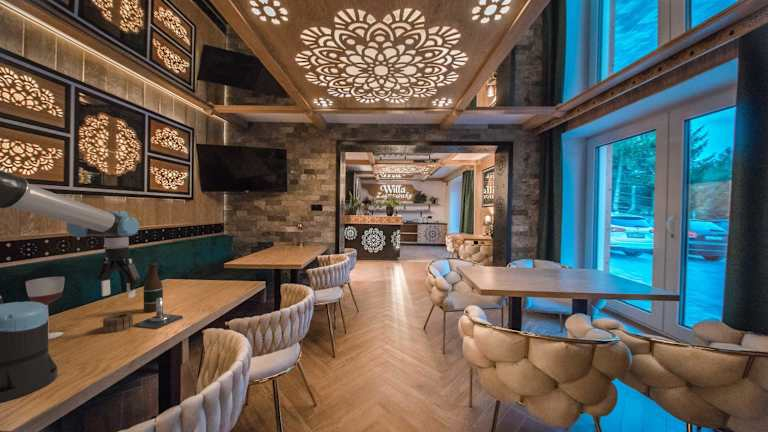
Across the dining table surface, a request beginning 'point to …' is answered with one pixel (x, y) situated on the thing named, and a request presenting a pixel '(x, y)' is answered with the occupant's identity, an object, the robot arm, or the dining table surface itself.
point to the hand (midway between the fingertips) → (118, 296)
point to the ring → (117, 322)
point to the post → (159, 317)
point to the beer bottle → (152, 289)
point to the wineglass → (46, 293)
